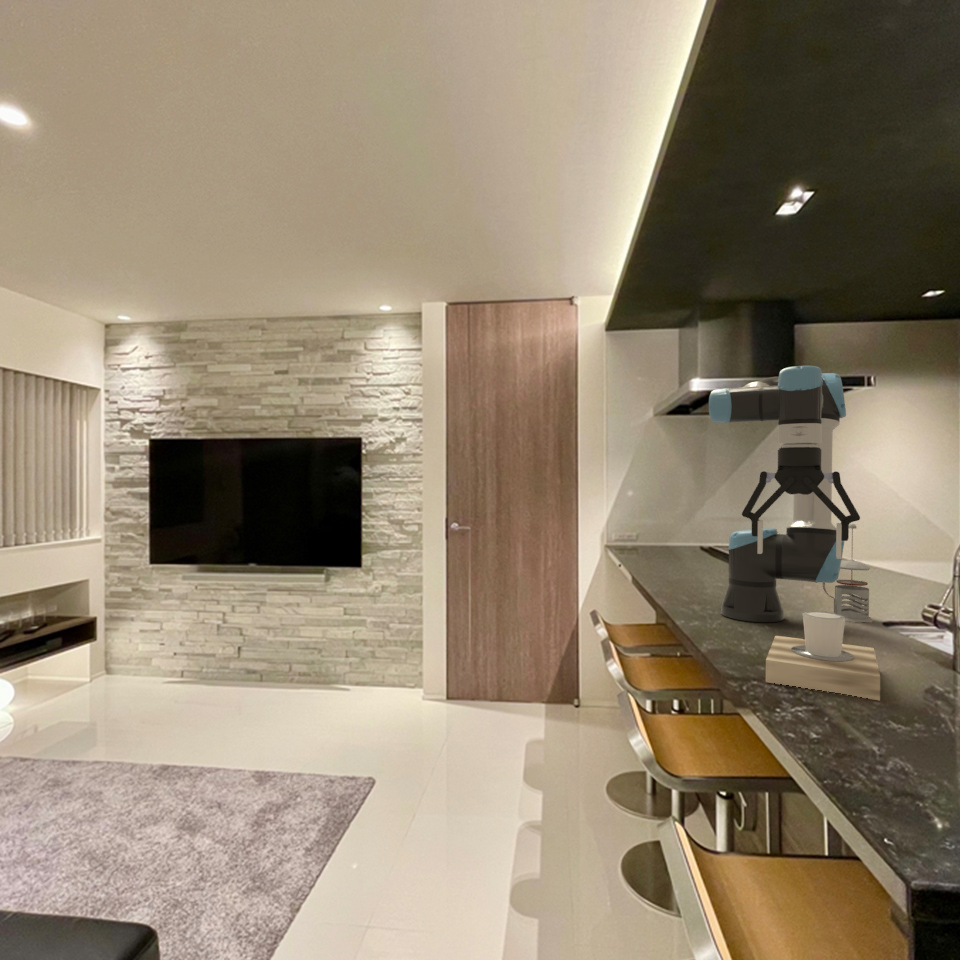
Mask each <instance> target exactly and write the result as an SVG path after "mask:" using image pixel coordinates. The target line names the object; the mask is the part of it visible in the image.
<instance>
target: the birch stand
mask: <svg viewBox="0 0 960 960" xmlns="http://www.w3.org/2000/svg"><path fill="white" fill-rule="evenodd" d="M765 683H768V684H769V683H770V684H774V683H775V685H780V684H782V686H786V685H789V686H788V687H792V686H796V687H795V688H798V687H801V688H800V689H805V688H808V689H807V690H811V689H815V690H814V691H817V690H822V691H821V692H823V691H827V692H826V693H829V692H835V693H841V694H840V695H842V694H847V695H846V696H848V695H852V696H851V697H854V696H857V697H856V698H860V697H862V698H861V699H866V698H868V700H872V701H873V700H874V701H881V673H880V669H879V666H878V661H877V656H876V652H875V649H874V647H869V646H862V645H854V644H853V645H852V644H845V643H842V650H841V655H840V656H838V657H825V656H818V655H814V654H811V653H808V652H807V651H806V645H805V638H804V639H803V638H798V637H789V636H781V635H775V636H774V639H773V641H772V644H771V646H770V648H769V651H768V653H767V656H766V659H765ZM828 691H829V692H828ZM835 693H834V694H835Z"/></svg>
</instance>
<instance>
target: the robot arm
mask: <svg viewBox="0 0 960 960" xmlns="http://www.w3.org/2000/svg"><path fill="white" fill-rule="evenodd" d="M708 412H709V413H708V415H709V418H710V421H711V422H713V423H717V424H718V423H719V424H721V423H723V424H730V423H732V424H733V423H734V424H735V423H752V422H777V424H778V425H777V444H778V445H779V446H781V447H779V448H778V450H777V469H776V472H767V471H761V472H760V474H759V481H758V483H757V486H756V487H755V489H754V491H753V492H752V494H751V497H750V498H749V500H748V501H747V503H746V505H745V506H744V509H743V510H742V512H741V515H742V517H744V518H746V519H749V520H750V521H751V529H744V530H743V529H742V530H736V531H733V532H732V533H730V536H729V541H728V547H727V550H728V585H727V589H726V591H725V594H724V597H723V600H722V603H721V605H720V606H721V607H720V609H721V610H720V614H721V615H722V616H724V617H726V618H730V619H733V620H738V621H739V620H740V621H745V622H753V623H776V622H782V621H783V620H784V608H783V605H782V602H781V599H780V596H779V593H778V590H777V580H785V581H795V582H796V581H799V582H807V583H808V582H811V583H815V584H817V583H818V584H819V583H823V582H824V583H825V584H826V583H827V584H828V583H829V584H832V583H835V582H836V581H837V580H839V576H840V572H841V571H840V570H841V569H840V566H841V562H842V560H843V559H842V558H843V553H844V546H845V542H847V541H848V540H849V533H850V530H849V529H850V528H849V525H850V524H852V523H854V522H858V521H860V520H861V516H860V515H859V513H858V511H857V509H856V507H855V505H854V504H853V502H852V500H851V498H850V497H849V495H848V493H847V491H846V489H845V488H844V486H843V484H842V482H841V473H840V472H839V471H833V431H834V430H835V429H836V428H838V427H839V425H840V419H843V418H846V416H847V410H846V400H845V394H844V388H843V382H842V378H841V376H840V374H838V373H835V372H828V373H827V372H825V373H823V372H822V369H821V368H820V367H819V366H815V365H798V366H797V365H796V366H788V367H785V368H783V369H780V371H779V374H778V376H772V377H771V376H770V377H768V378H763V379H760V380H756V381H752V382H749V383H747V384H745V385H744V386H743V387H742V386H741V387H732V388H730V387H729V388H728V387H726V388H719V389H714V390H711V392H710V394H709V397H708ZM773 479H775V481H776V482H777V483H778V485H780V486H779V487H778V488H777V489H776V490H775V491H774V492H773V493H772V494H771V496H770V497H768V499H767V500H765V502H764V503H763V504H762V505H761V506H760V507H759V508H758V509H757V510H756V511H755V512H752V510H753V508H754V507H755V505H756V503H757V502H758V499H759V498H760V496H761V494H762V493H763V491H764V489H765V488H766V485H767V484H768V483H771V482H772V480H773ZM833 486H834V488H835V490H836V492H837V493H838V495H839V496H840V497H839V498H840V500H842V503H843V504H844V506H845V508H846V510H847V511H848V513H849V515H845V514H844V513H843V512H842V511H841V509H840V508H838V506H837V505H836V504H835V503H834V502H833V501H832V493H833ZM784 493H786V494H789V495H793V508H792V509H793V512H792V513H793V515H792V516H793V517H792V522H790V523H789V524H788V525H787V527H786V532H785V534H781V533H779V532H778V530H777V529H776V528H775V527H774V528H773V527H771V528H770V527H769V528H764V520H762V519H760V518H761V516H763V514H764V513H766V512H767V510H769V508H770V507H772V506H773V504H774V503H775V502H776V501H777V500H778V499H779V498H781V496H782V495H783V494H784ZM832 514H833V515H834V516H835V517H836V518H837V519H838V520H839V521H840V522H836V526H835V525H834V524H833V523H832Z"/></svg>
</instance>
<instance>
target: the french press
mask: <svg viewBox="0 0 960 960" xmlns="http://www.w3.org/2000/svg"><path fill="white" fill-rule="evenodd" d="M849 529H851V557H853V549H854V548H853V545H854V544H853V542H854V541H853V540H854V538H853V537H854V536H853V532H854V531H853V529H854V530H857V524H854V523H850V524H849ZM870 569H871V567H870V566H869V565H867V564H865V563H863V562H860V561H855V559H850V560H843V561H842V560H841V566H840V570H850V571H851V577H850V579H844V578H843V579H839V578H838V579H837V580H836V581H835V582H836V583H838V584H839V585H838V584H837V585H834V596H832V595H831V594H829V593H828V591H827V589H826V586H825V585H826V583H824V582H822V588H823V591H824V593H825V594H826V595H827V596H828V597H830V598H832V599H833V613H834V614H838V615H841V616H844V617H845V622H847V621H851V622H850V623H855V622H871V623H873V622H874V620H873V618H872V617H870V616H869V615H870V588H868V587H864V586H868V582H867V581H863V580H857V579H856V580H855V579H853V571H869V570H870ZM842 595H843V596H842ZM844 595H845V596H844ZM846 604H847V605H846ZM872 621H873V622H872Z"/></svg>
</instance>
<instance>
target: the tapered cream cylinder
mask: <svg viewBox="0 0 960 960" xmlns="http://www.w3.org/2000/svg"><path fill="white" fill-rule="evenodd" d="M802 620H803V621H802V622H803V632H804V639H805V645H806V651H807V652H808V653H811V654H814V655H818V656H825V657H838V656H840V655H841V650H842V644H843V641H844V632H845V623H846V621H845V617H844V616H841V615H838V614H834V612H827V611H805V612H802Z"/></svg>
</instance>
